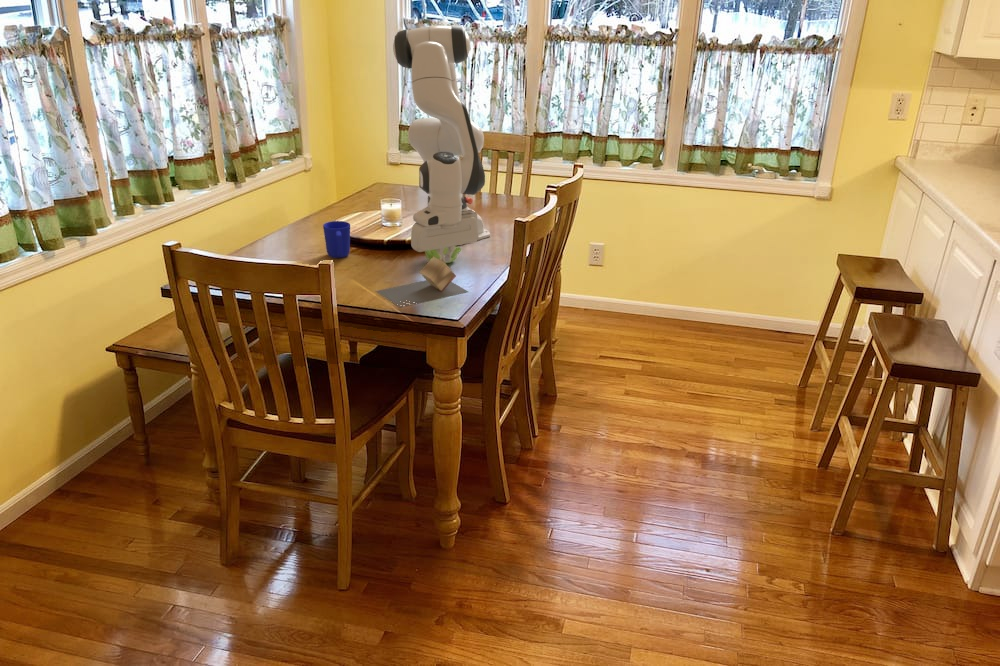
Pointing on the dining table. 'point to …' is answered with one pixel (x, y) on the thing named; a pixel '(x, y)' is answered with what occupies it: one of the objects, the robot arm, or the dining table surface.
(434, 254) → the teapot
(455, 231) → the robot arm
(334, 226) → the mug
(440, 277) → the cube
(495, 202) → the dining table surface
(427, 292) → the mat
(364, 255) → the dining table surface
